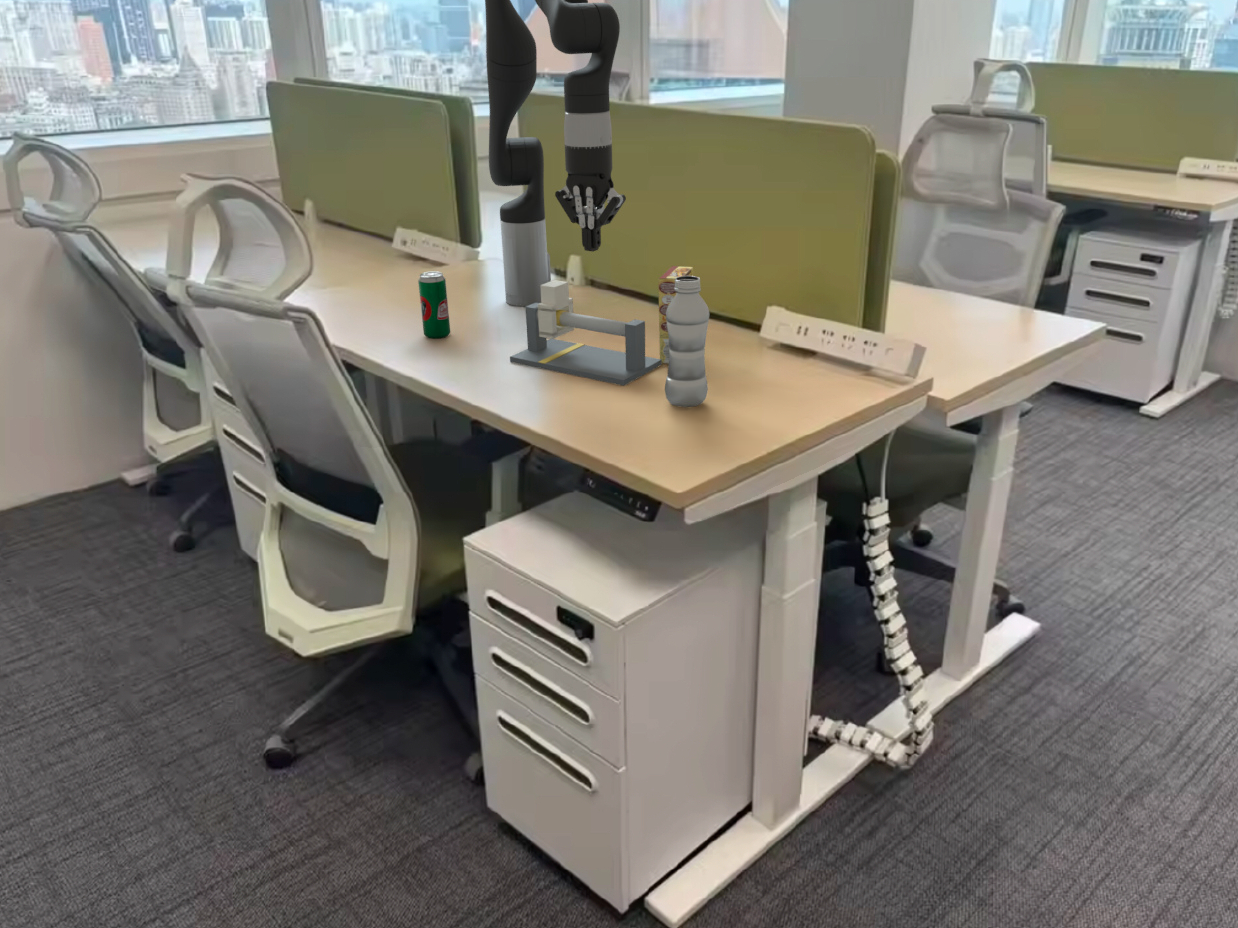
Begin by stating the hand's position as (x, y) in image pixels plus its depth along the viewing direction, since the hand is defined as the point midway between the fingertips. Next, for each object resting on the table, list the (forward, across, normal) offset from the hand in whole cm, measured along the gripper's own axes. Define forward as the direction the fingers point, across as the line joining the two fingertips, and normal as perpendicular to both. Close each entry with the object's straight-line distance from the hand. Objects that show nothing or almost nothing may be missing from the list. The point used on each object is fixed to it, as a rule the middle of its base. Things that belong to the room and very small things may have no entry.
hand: (591, 250), depth 166 cm
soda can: (+21, +36, +1) cm, 42 cm away
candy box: (+20, -10, -11) cm, 25 cm away
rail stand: (+20, +2, 0) cm, 20 cm away
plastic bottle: (+20, -23, +8) cm, 32 cm away
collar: (+16, +8, 0) cm, 18 cm away
